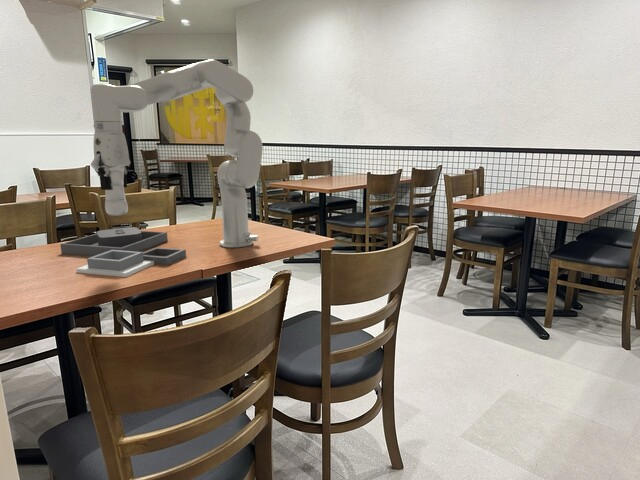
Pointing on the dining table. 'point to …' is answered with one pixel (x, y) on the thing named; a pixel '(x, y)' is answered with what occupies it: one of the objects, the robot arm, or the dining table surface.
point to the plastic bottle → (116, 192)
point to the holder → (170, 254)
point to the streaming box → (119, 237)
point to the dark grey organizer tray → (92, 248)
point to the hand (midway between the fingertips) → (114, 187)
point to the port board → (116, 263)
